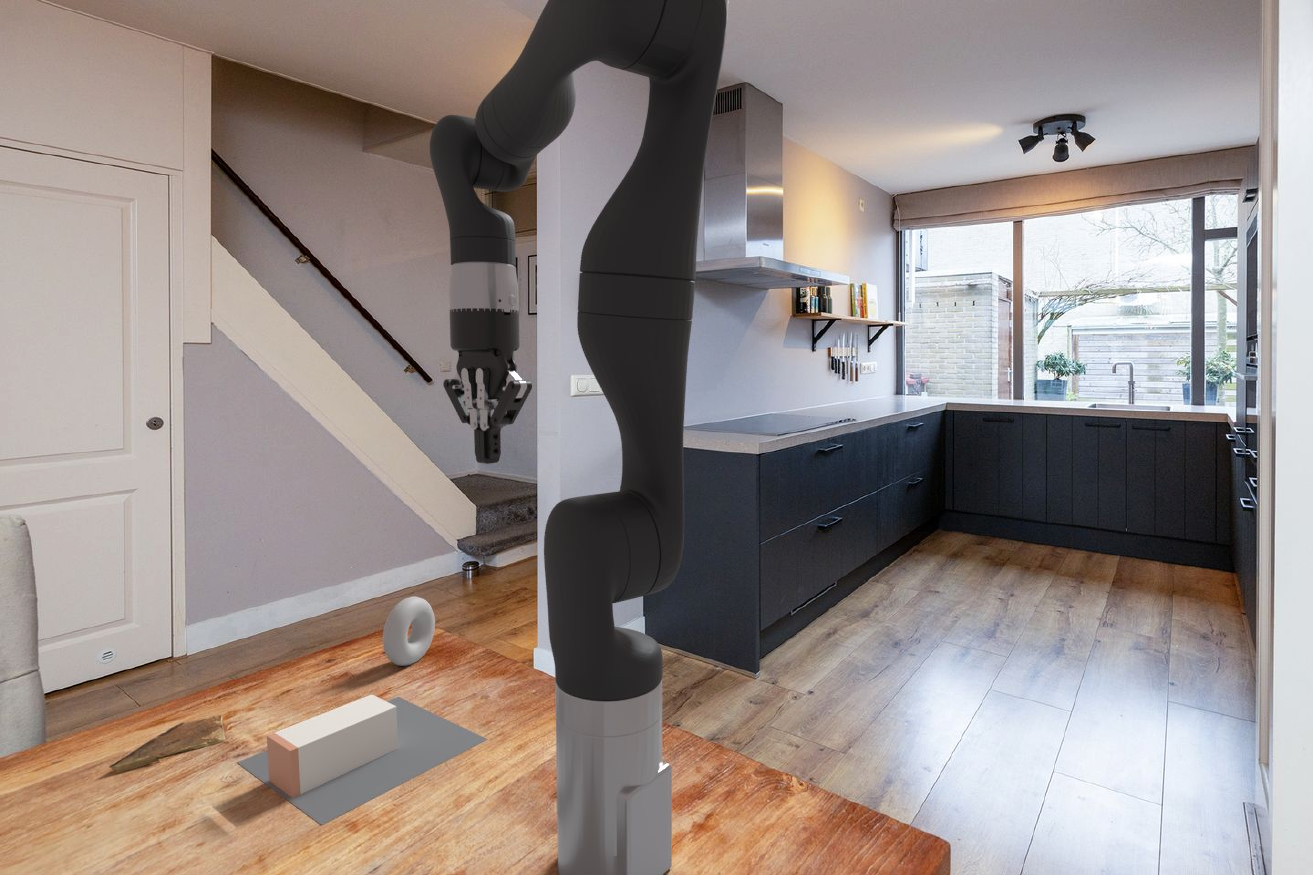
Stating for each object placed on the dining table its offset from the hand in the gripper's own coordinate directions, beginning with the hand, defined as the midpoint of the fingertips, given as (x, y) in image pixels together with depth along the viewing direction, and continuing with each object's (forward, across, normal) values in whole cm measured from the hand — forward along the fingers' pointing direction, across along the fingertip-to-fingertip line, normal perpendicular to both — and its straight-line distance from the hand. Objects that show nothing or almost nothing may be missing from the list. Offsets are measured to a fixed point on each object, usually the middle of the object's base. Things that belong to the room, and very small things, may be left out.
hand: (488, 462), depth 83 cm
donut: (+33, -27, +7) cm, 43 cm away
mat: (+33, -9, -11) cm, 36 cm away
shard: (+34, -27, -23) cm, 49 cm away
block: (+30, -9, -8) cm, 32 cm away
